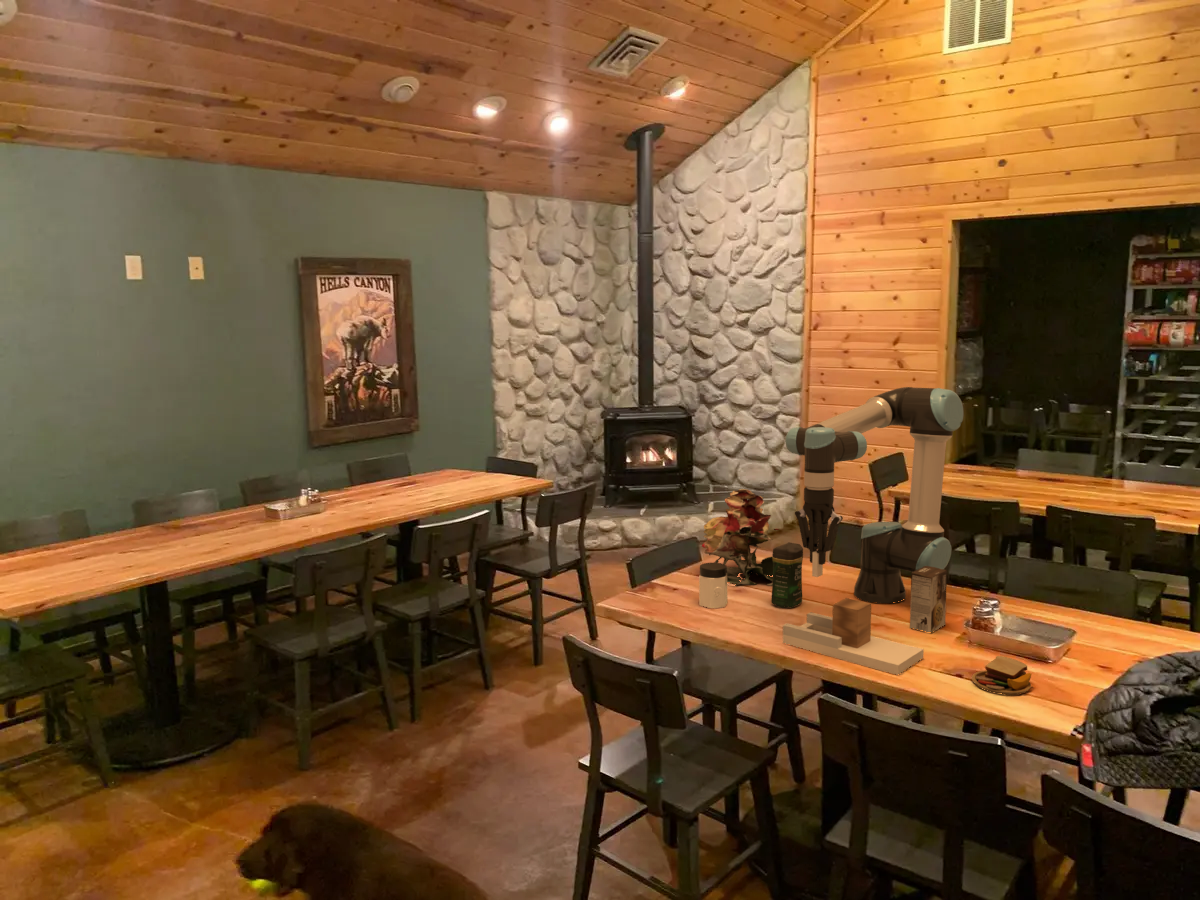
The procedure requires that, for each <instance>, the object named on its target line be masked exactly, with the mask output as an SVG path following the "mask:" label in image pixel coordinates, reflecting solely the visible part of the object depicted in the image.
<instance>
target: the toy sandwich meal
mask: <svg viewBox="0 0 1200 900" xmlns="http://www.w3.org/2000/svg"><path fill="white" fill-rule="evenodd" d="M984 668H985V669H984V670H979V671H976V672H975V673H973V674H972V676H971V680H972V682H973V683H974V684H975V685H976V686H977V685H978V686H979V687H978V686H977V687H978V688H980V689H982V688H983V689H982V690H984V689H985V691H986V690H988V691H987V692H989V691H991V692H990V693H993V692H995V693H994V694H997V693H1002V694H1001V695H1004V694H1017V695H1021V694H1020V693H1022V694H1024V692H1025V693H1026V692H1028V691H1029V690H1030V689H1031V688H1032V685H1031V682H1030V681H1031V678H1032V673H1031V672H1026V671H1027V670H1028V665H1027V663H1024V662H1023V661H1020V660H1018V659H1016V658H1011V657H1007V656H1003V655H996V656H995V658H994V659H993V660H991V661H990V662H989V663H986V665H985V666H984Z"/></svg>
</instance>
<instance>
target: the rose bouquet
mask: <svg viewBox="0 0 1200 900" xmlns="http://www.w3.org/2000/svg"><path fill="white" fill-rule="evenodd" d="M724 502H725V504H726V505H727V506H728V508H726V509H725V512H726V514H727V516H723V515H722V516H717V517H713V518H711V519H709V520H708V521H707V522H706V523H705V524H704V526H703V529H704V531H703V534H704V535H703V538H705V539H706V541H704V542H703V543H702V544H701V547H702V548H704V549H705V550H704V552H703V553H704V554H706V555H709V556H711V555H712V556H716V557H718V559H716V560H715V561H714V562H713V563H720V561H719V560H720V559H722V558H723V562H722V564H724V565H726V566H727V563H728V562H729V561H733V562H734V563H735V564H736V566H727V582H730V584H732V583H734V584H733V585H735V584H736V585H735V586H736V587H737V586H738V585H747V586H748V585H749V586H751V585H752V586H757V585H758V583H757V582H754V581H752V580H750V576H751V577H752V575H756V576H757V577H760V578H765V579H767V580H769V581H770V582H771V583H767V584H766V586H772V584H773V577H770V576H772V575H773V559H772V556H769V557H766V558H763V559H761V562H757V556H756V553H757V550H758V549H761V546H758V545H761V544H763V543H766V542H769V541H773V540H774V539H772V538H771V537H770V536H769V535H768V534H769V529H770V524H769V520H770V519H771V517H772V514H764V513H763V511H764V508H762V505H763V504H764V503H765V501H764V498H763V497H762V496H761V495H757V494H756V493H753V492H752V490H751V489H750V490H749V489H745V488H740V489H734V490H732V492H730V493H729V497H726V498H725V499H724ZM779 530H780V528H773V531H779ZM750 547H755V549H754V550H753V552H751V550H752V549H751V548H750ZM742 558H743V559H742ZM739 573H743V574H742V575H743V576H741V577H742V578H745V579H743V580H742V581H741V582H740V581H739V580H741V578H740V577H737V576H738V574H739ZM750 573H751V574H750ZM767 575H768V576H767ZM769 575H770V576H769Z"/></svg>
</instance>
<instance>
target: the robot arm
mask: <svg viewBox="0 0 1200 900" xmlns="http://www.w3.org/2000/svg"><path fill="white" fill-rule="evenodd" d="M963 421H964V406H963V402H962V400H961V398H960V397H959V395H958V394H957V393H956V392H955V391H954V390H951V389H947V388H946V389H945V388H941V387H937V388H936V387H935V388H934V387H933V388H932V387H912V386H909V387H908V386H905V387H899V388H898V387H897V388H895V389H892V390H888V391H885V392H882V393H880V394H878V395H875V396H873V397H869V399H867V400H866V402H865V403H864V404H862V405H859V406H857V407H854V408H853V409H849V410H847V411H845V412H842V413H840V414H838V415H834V416H833V417H830V418H827V419H825V420H823V421H820V422H818V423H815V424H813V425H811V426H810V425H809V426H807V427H802V426H800V427H792V428H790V429H789V430H788V432H787V433H786V435H785V438H784V440H785V441H784V443H785V447H786V449H787V450H788V452H789V453H791V454H794V455H798V456H804V471H803V473H804V474H803V485H804V487H805V488H804V489H803V501H804V503H803V506H802V508H801V509H799V510H797V511H795V512H794V515H795V518H796V519H797V522H798V527H799V531H800V537H801V541H802V548H803V549H804V548H806V549H808V550H809V562H810V563H811V565H812V571H811V572H812V573H811V576H812V577H814V578H818V577H821V576H823V571H824V567H823V566H824V565H825V564H826V557H827V556H826V555H827V553H828V552H830V551H832V550H833V549H834V546H835V542H836V538H837V533H838V530H839V526H840V523H841V522H842V521H843V520H844V519H843V517H844V516H842V515H838V514H837V513H836V511H835V507H834V501H835V498H834V497H835V490H834V488H833V487H834V485H835V464H836V463H840V462H841V463H842V462H846V461H855V460H858V459H861V458H862V457H863V456H865V454H866V452H867V449H868V442H867V438H866V437H865V436H864V433H866V432H869V431H870V430H873V429H876V428H878V429H884V428H886V427H889V426H899V427H909V435H910V436H911V437H912V438H913V440H914V444H913V454H912V455H913V457H912V469H911V478H910V479H911V480H910V492H909V504H908V514H907V515H908V517H907V521H906V522H905V523H903V524H902V523H901V522H898V521H879V522H878V521H877V522H871V523H870V522H869V523H867V524H866V523H865V524H864V525H863V526H862V528H861V535H860V536H861V537H860V571H859V574H858V576H857V579H856V582H855V585H854V589H853V591H854V592H853V596H854V595H855V596H856V597H857V599H858V598H859V599H858V600H860V599H861V600H860V601H863V600H864V601H863V602H867V601H868V602H867V603H872V602H877V603H876V604H880V603H892V604H894V603H893V602H898V601H901V600H903V599H905V597H907V594H906V593H907V591H906V588H905V584H904V581H903V578H902V575H901V574H902V573H901V570H903V571H908V572H911V573H912V572H914V571H916V570H918V569H920V568H922V567H924V566H930V567H935V568H939V569H944V570H945V568H946V567H947V565H948V563H949V562H950V559H951V556H952V545H951V542H950V540H949V539H947V538H946V537H944V536H945V529H944V528H943V527H942V526H941V524H940V519H941V518H940V517H941V505H942V494H943V483H944V472H945V461H946V460H945V459H946V448H947V442H948V441H949V440H950V439H951V438H952V437H953V433H954V431H957V430H958V429H959V428H960V427H961V424H962V422H963ZM829 520H830V524H829ZM828 526H829V528H828ZM855 596H854V597H855ZM856 597H855V598H856ZM905 600H906V599H905Z"/></svg>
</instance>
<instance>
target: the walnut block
mask: <svg viewBox="0 0 1200 900" xmlns="http://www.w3.org/2000/svg"><path fill="white" fill-rule="evenodd" d="M832 617H833V622H832V635H835V636H839V637H842V645H846V646H850V647H853V648H859V647H861V646H862V645H864V644H866V643H868V642H869V641H870V638H871V636H872V635H871V631H872V628H871V627H872V602H867V601H863V600H859V599H857V600H856V599H853V598H847V597H845V598H844V599H841V600H840V601H837V602H834V603H833V604H832Z"/></svg>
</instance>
